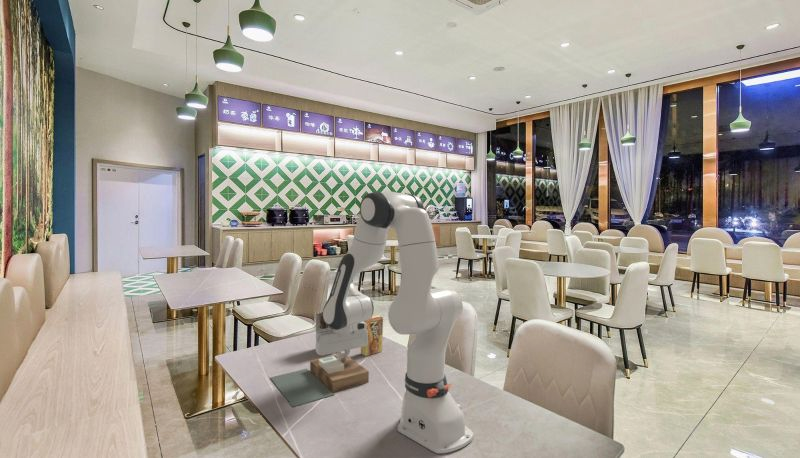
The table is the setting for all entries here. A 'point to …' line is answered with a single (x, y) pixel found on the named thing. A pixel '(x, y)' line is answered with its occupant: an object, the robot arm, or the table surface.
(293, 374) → the mat
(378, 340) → the candy box
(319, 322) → the coffee box
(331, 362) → the white box
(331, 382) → the block
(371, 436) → the table surface
